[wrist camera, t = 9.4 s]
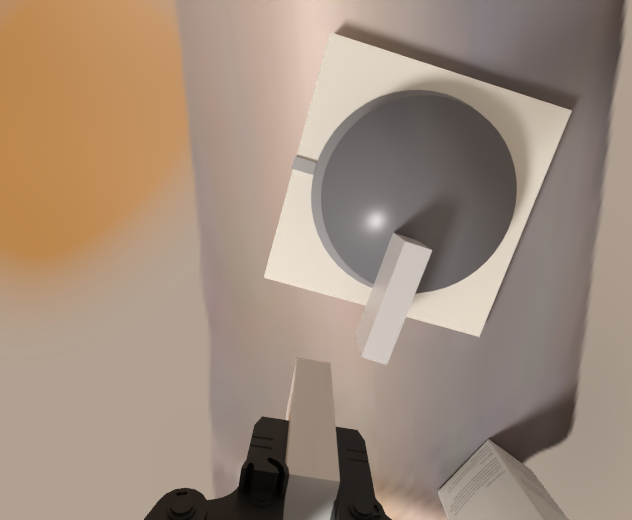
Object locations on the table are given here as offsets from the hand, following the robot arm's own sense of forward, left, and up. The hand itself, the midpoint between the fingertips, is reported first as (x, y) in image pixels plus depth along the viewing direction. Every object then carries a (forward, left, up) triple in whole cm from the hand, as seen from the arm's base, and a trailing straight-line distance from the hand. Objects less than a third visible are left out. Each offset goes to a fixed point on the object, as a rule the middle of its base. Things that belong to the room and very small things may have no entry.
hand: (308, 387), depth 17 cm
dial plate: (-9, +6, -18) cm, 21 cm away
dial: (-7, +6, -16) cm, 19 cm away
